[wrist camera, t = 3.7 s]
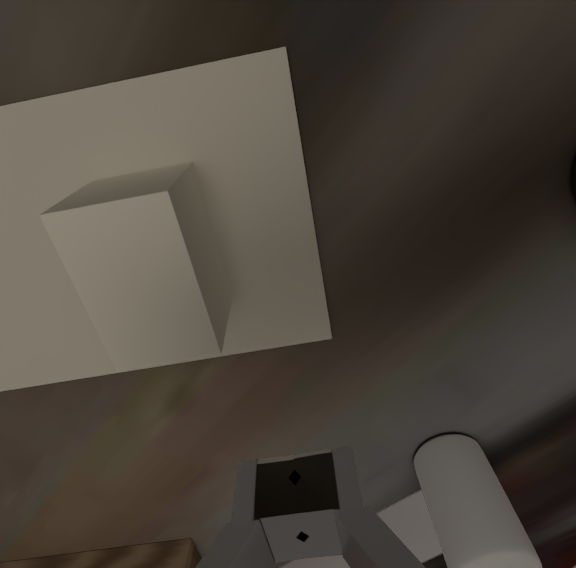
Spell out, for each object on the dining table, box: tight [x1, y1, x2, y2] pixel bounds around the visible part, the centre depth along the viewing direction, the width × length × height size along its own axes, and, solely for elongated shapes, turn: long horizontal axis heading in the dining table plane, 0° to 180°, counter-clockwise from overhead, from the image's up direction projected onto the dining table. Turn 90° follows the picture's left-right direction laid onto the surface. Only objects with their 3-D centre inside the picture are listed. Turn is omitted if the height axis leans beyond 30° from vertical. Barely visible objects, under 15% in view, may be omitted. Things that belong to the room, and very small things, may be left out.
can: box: [414, 433, 542, 568], centre depth 34 cm, size 6×6×12 cm
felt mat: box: [0, 47, 332, 391], centre depth 28 cm, size 28×20×1 cm
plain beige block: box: [39, 162, 232, 371], centre depth 25 cm, size 6×10×6 cm, turn 10°
